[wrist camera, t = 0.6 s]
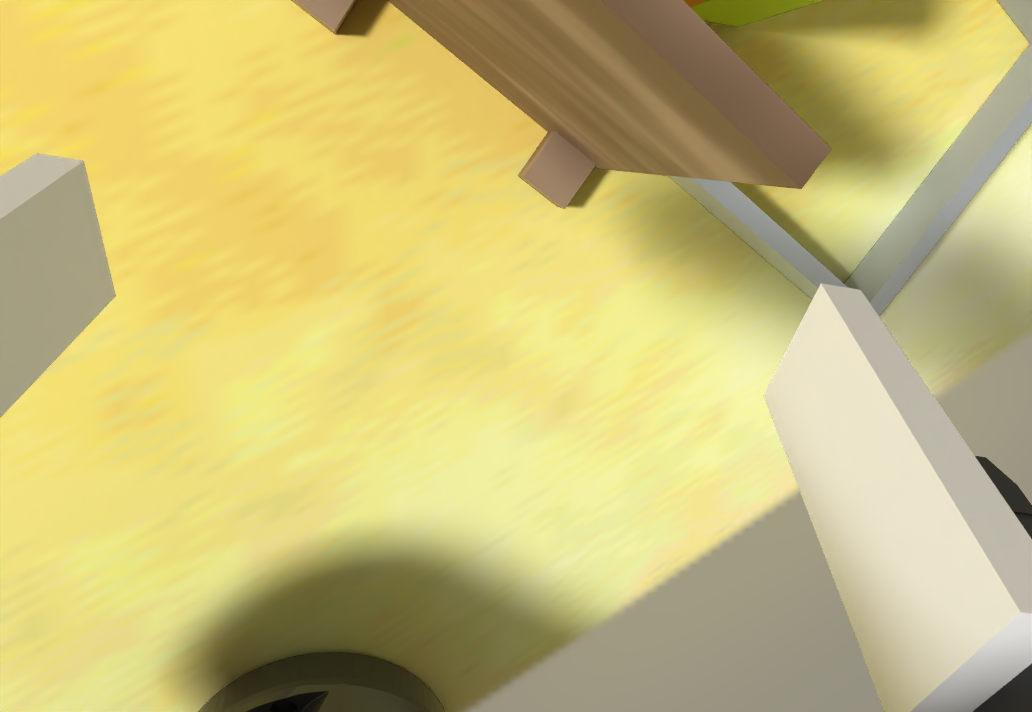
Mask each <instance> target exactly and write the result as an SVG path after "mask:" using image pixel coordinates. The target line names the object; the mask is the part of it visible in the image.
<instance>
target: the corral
mask: <svg viewBox="0 0 1032 712" xmlns="http://www.w3.org/2000/svg"><path fill="white" fill-rule="evenodd" d="M997 1H998V2H999V3H1000V5H1001V6H1002V7H1003V9H1004V10H1005V11H1006V13H1007V14H1008V15H1009V17H1010V18H1011V19H1012V20H1013V22H1014V23H1015V24H1016V26H1017V27H1018V28H1019V30H1020V31H1021V32H1022V33H1023V35H1024V36H1025V37H1026V39H1027V40H1028V41H1029V43H1030V45H1029V46H1028V47H1027V48H1026V50H1025V51H1024V52H1023V54H1022V55H1021V56H1020V58H1019V59H1018V60H1017V61H1016V63H1015V64H1014V65H1013V67H1012V68H1011V69H1010V70H1009V72H1008V73H1007V74H1006V76H1005V77H1004V78H1003V80H1002V81H1001V82H1000V83H999V85H998V86H997V87H996V89H995V90H994V91H993V92H992V94H991V95H990V96H989V98H988V99H987V100H986V101H985V103H984V104H983V105H982V107H981V108H980V109H979V111H978V112H977V113H976V114H975V116H974V117H973V118H972V120H971V121H970V122H969V123H968V125H967V126H966V127H965V129H964V130H963V131H962V133H961V134H960V135H959V136H958V138H957V139H956V140H955V142H954V143H953V144H952V145H951V147H950V148H949V149H948V151H947V152H946V153H945V154H944V156H943V157H942V158H941V160H940V161H939V162H938V164H937V165H936V166H935V167H934V169H933V170H932V171H931V173H930V174H929V175H928V176H927V178H926V179H925V180H924V182H923V183H922V184H921V185H920V187H919V188H918V189H917V191H916V192H915V193H914V195H913V196H912V197H911V198H910V200H909V201H908V202H907V204H906V205H905V206H904V207H903V209H902V210H901V211H900V213H899V214H898V215H897V217H896V218H895V219H894V220H893V222H892V223H891V224H890V226H889V227H888V228H887V229H886V231H885V232H884V233H883V235H882V236H881V237H880V238H879V240H878V241H877V242H876V244H875V245H874V246H873V248H872V249H871V250H870V251H869V253H868V254H867V255H866V257H865V258H864V259H863V260H862V262H861V263H860V264H859V266H858V267H857V268H856V270H855V271H854V272H853V273H852V275H851V276H850V277H849V279H848V280H847V281H846V282H845V284H844V283H843V282H842V281H840V280H839V279H838V278H837V277H836V276H835V275H834V274H833V273H832V272H830V271H829V270H828V269H827V268H826V267H825V266H824V265H823V264H821V263H820V262H819V261H818V260H817V259H816V258H815V257H814V256H813V255H811V254H810V253H809V252H808V251H807V250H806V249H805V248H804V247H803V246H801V245H800V244H799V243H798V242H797V241H796V240H795V239H794V238H793V237H791V236H790V235H789V234H788V233H787V232H786V231H785V230H784V229H782V228H781V227H780V226H779V225H778V224H777V223H776V222H775V221H774V220H772V219H771V218H770V217H769V216H768V215H767V214H766V213H765V212H764V211H762V210H761V209H760V208H759V207H758V206H757V205H756V204H755V203H753V202H752V201H751V200H750V199H749V198H748V197H747V196H746V195H745V194H743V193H742V192H741V191H740V190H739V189H738V188H737V187H736V186H735V185H733V184H732V183H731V182H727V181H717V180H707V179H697V178H687V177H677V176H669V177H670V178H671V179H672V180H674V181H675V182H676V183H677V184H678V185H679V186H681V187H682V188H683V189H684V190H685V191H686V192H688V193H689V194H690V195H691V196H692V197H693V198H694V199H696V200H697V201H698V202H699V203H700V204H701V205H703V206H704V207H705V208H706V209H707V210H708V211H710V212H711V213H712V214H713V215H714V216H715V217H717V218H718V219H719V220H720V221H721V222H722V223H724V224H725V225H726V226H727V227H728V228H729V229H731V230H732V231H733V232H734V233H735V234H736V235H737V236H739V237H740V238H741V239H742V240H743V241H744V242H746V243H747V244H748V245H749V246H750V247H751V248H753V249H754V250H755V251H756V252H757V253H758V254H760V255H761V256H762V257H763V258H764V259H765V260H767V261H768V262H769V263H770V264H771V265H772V266H774V267H775V268H776V269H777V270H778V271H779V272H780V273H782V274H783V275H784V276H785V277H786V278H787V279H789V280H790V281H791V282H792V283H793V284H794V285H796V286H797V287H798V288H799V289H800V290H801V291H803V292H804V293H805V294H806V295H807V296H808V297H810V298H811V299H812V300H813V298H814V296H815V294H816V292H817V290H818V288H819V286H820V284H821V283H822V284H828V285H834V286H840V287H846V288H852V289H858V290H861V291H862V292H863V294H864V295H865V297H866V298H867V300H868V301H869V303H870V304H871V306H872V307H873V309H874V310H875V311H876V313H877V314H878V316H880V315H881V313H882V312H883V311H884V310H885V308H886V307H887V306H888V304H889V303H890V302H891V301H892V299H893V298H894V297H895V296H896V294H897V293H898V292H899V290H900V289H901V288H902V287H903V285H904V284H905V283H906V282H907V280H908V279H909V278H910V276H911V275H912V274H913V273H914V271H915V270H916V269H917V268H918V266H919V265H920V264H921V263H922V261H923V260H924V259H925V257H926V256H927V255H928V254H929V252H930V251H931V250H932V249H933V247H934V246H935V245H936V243H937V242H938V241H939V240H940V238H941V237H942V236H943V235H944V233H945V232H946V231H947V229H948V228H949V227H950V226H951V224H952V223H953V222H954V221H955V219H956V218H957V217H958V215H959V214H960V213H961V212H962V210H963V209H964V208H965V207H966V205H967V204H968V203H969V201H970V200H971V199H972V198H973V196H974V195H975V194H976V193H977V191H978V190H979V189H980V187H981V186H982V185H983V184H984V182H985V181H986V180H987V179H988V177H989V176H990V175H991V173H992V172H993V171H994V170H995V168H996V167H997V166H998V165H999V163H1000V162H1001V161H1002V159H1003V158H1004V157H1005V156H1006V154H1007V153H1008V152H1009V151H1010V149H1011V148H1012V147H1013V145H1014V144H1015V143H1016V142H1017V140H1018V139H1019V138H1020V137H1021V135H1022V134H1023V133H1024V131H1025V130H1026V129H1027V128H1028V126H1029V125H1030V124H1031V123H1032V0H997Z"/></svg>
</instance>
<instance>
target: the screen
mask: <svg viewBox="0 0 1032 712" xmlns="http://www.w3.org/2000/svg"><path fill="white" fill-rule="evenodd" d="M291 1H293V2H294V3H295V4H297V5H298V6H299V7H300V8H302V9H303V10H304V11H306V12H307V13H308V14H310V15H311V16H312V17H313V18H315V19H316V20H317V21H319V22H320V23H321V24H322V25H324V26H325V27H326V28H328V29H329V30H330V31H331V32H333V33H334V34H336V33H337V31H338V30H339V28H340V27H341V25H342V23H343V22H344V20H345V19H346V17H347V16H348V14H349V12H350V11H351V9H352V8H353V6H354V5H355V3H356V1H357V0H291ZM388 1H389V2H390V3H392V4H393V5H394V6H395V7H396V8H398V9H399V10H400V11H401V12H403V13H404V14H405V15H406V16H407V17H409V18H410V19H411V20H412V21H414V22H415V23H416V24H417V25H418V26H420V27H421V28H422V29H423V30H425V31H426V32H427V33H428V34H429V35H431V36H432V37H433V38H434V39H435V40H437V41H438V42H439V43H440V44H442V45H443V46H444V47H445V48H446V49H448V50H449V51H450V52H451V53H453V54H454V55H455V56H456V57H457V58H459V59H460V60H461V61H462V62H464V63H465V64H466V65H467V66H468V67H470V68H471V69H472V70H473V71H474V72H476V73H477V74H478V75H479V76H481V77H482V78H483V79H484V80H485V81H487V82H488V83H489V84H490V85H492V86H493V87H494V88H495V89H496V90H498V91H499V92H500V93H501V94H503V95H504V96H505V97H506V98H507V99H509V100H510V101H511V102H512V103H513V104H515V105H516V106H517V107H518V108H520V109H521V110H522V111H523V112H524V113H526V114H527V115H528V116H529V117H531V118H532V119H533V120H534V121H535V122H537V123H538V124H539V125H540V126H542V127H543V128H544V129H545V130H546V131H548V133H547V134H546V136H545V137H544V139H543V140H542V142H541V143H540V145H539V146H538V147H537V149H536V150H535V152H534V153H533V155H532V156H531V158H530V159H529V160H528V162H527V163H526V165H525V166H524V168H523V169H522V171H521V172H520V173H519V175H518V176H519V177H520V178H521V179H522V180H524V181H525V182H526V183H528V184H529V185H530V186H531V187H533V188H534V189H535V190H537V191H538V192H539V193H540V194H542V195H543V196H544V197H546V198H547V199H548V200H550V201H551V202H552V203H553V204H555V205H556V206H557V207H560V208H564V209H565V208H566V207H567V205H568V204H569V202H570V201H571V199H572V198H573V197H574V195H575V194H576V192H577V191H578V190H579V188H580V187H581V185H582V184H583V182H584V181H585V180H586V178H587V177H588V175H589V174H590V173H591V171H592V170H593V168H597V169H607V170H617V171H627V172H637V173H647V174H657V175H667V176H677V177H687V178H697V179H707V180H717V181H727V182H737V183H747V184H757V185H767V186H777V187H787V188H797V189H802V188H803V186H804V185H805V184H806V182H807V181H808V180H809V178H810V177H811V176H812V174H813V173H814V172H815V170H816V169H817V168H818V166H819V165H820V164H821V162H822V161H823V160H824V158H825V157H826V156H827V154H828V153H829V152H830V150H831V148H830V147H829V146H828V145H827V144H826V143H825V142H824V141H823V140H822V139H821V138H820V137H819V136H818V135H817V134H816V133H815V132H814V131H813V130H812V129H811V128H810V127H809V126H808V125H807V124H806V123H805V122H804V121H803V120H802V119H801V118H800V117H799V116H798V115H797V114H796V113H795V112H794V111H793V110H792V109H791V108H790V107H789V106H788V105H787V104H786V103H785V102H784V101H783V100H782V99H781V98H780V97H779V96H778V95H777V94H776V93H775V92H774V91H773V90H772V89H771V88H770V87H769V86H768V85H767V84H766V83H765V82H764V81H763V80H762V79H761V78H760V77H759V76H758V75H757V74H756V73H755V72H754V71H753V70H752V69H751V68H750V67H749V66H748V65H747V64H746V63H745V62H744V61H743V60H742V59H741V58H740V57H739V56H738V55H737V54H736V53H735V52H734V51H733V50H732V49H731V48H730V47H729V46H728V45H727V44H726V43H725V42H724V41H723V40H722V39H721V38H720V37H719V36H718V35H717V34H716V33H715V32H714V31H713V30H712V29H711V28H710V27H709V26H708V25H707V24H706V23H705V22H704V21H703V20H702V19H701V18H700V17H699V16H698V15H697V14H696V13H695V12H694V11H693V10H692V9H691V8H690V7H689V6H688V5H687V4H686V3H685V2H684V1H683V0H388Z"/></svg>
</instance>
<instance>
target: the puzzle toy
mask: <svg viewBox="0 0 1032 712" xmlns="http://www.w3.org/2000/svg"><path fill="white" fill-rule="evenodd" d="M683 1H684V2H685V3H686V4H687V5H688V6H689V7H690V8H691V9H692V10H693V11H694V12H695V13H696V14H697V15H698V16H699V17H700V18H701V19H702V20H703V21H709V22H715V23H720V24H726V25H732V26H737V27H738V26H742V25H745V24H748V23H751V22H755V21H758V20H761V19H764V18H768V17H771V16H774V15H778V14H781V13H784V12H787V11H791V10H794V9H797V8H800V7H804V6H807V5H810V4H814V3H817V2H820V1H823V0H683Z"/></svg>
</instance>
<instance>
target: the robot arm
mask: <svg viewBox="0 0 1032 712" xmlns="http://www.w3.org/2000/svg"><path fill="white" fill-rule="evenodd" d="M115 296H116V295H115V291H114V286H113V282H112V278H111V274H110V269H109V265H108V261H107V257H106V253H105V248H104V244H103V240H102V236H101V231H100V227H99V223H98V219H97V214H96V210H95V206H94V202H93V198H92V193H91V189H90V185H89V181H88V176H87V172H86V168H85V164H84V161H81V160H75V159H69V158H63V157H57V156H51V155H45V154H39V153H37V154H35V155H34V156H32V157H30V158H29V159H27V160H26V161H24V162H22V163H21V164H19V165H17V166H16V167H14V168H13V169H11V170H9V171H8V172H6V173H4V174H3V175H1V176H0V418H1V417H2V416H3V414H4V413H5V412H6V411H7V410H8V409H9V408H10V407H11V406H12V405H13V404H14V403H15V402H16V401H17V400H18V399H19V398H20V397H21V395H22V394H23V393H24V392H25V391H26V390H27V389H28V388H29V387H30V386H31V385H32V384H33V383H34V382H35V381H36V380H37V379H38V377H39V376H40V375H41V374H42V373H43V372H44V371H45V370H46V369H47V368H48V367H49V366H50V365H51V364H52V363H53V362H54V361H55V360H56V358H57V357H58V356H59V355H60V354H61V353H62V352H63V351H64V350H65V349H66V348H67V347H68V346H69V345H70V344H71V343H72V342H73V341H74V339H75V338H76V337H77V336H78V335H79V334H80V333H81V332H82V331H83V330H84V329H85V328H86V327H87V326H88V325H89V324H90V323H91V321H92V320H93V319H94V318H95V317H96V316H97V315H98V314H99V313H100V312H101V311H102V310H103V309H104V308H105V307H106V306H107V305H108V304H109V302H110V301H111V300H112V299H113V298H114V297H115ZM763 396H764V398H765V401H766V403H767V406H768V409H769V411H770V414H771V416H772V419H773V422H774V424H775V427H776V430H777V432H778V435H779V437H780V440H781V443H782V445H783V448H784V450H785V453H786V456H787V458H788V461H789V464H790V466H791V469H792V471H793V474H794V477H795V479H796V482H797V484H798V487H799V490H800V492H801V495H802V497H803V500H804V503H805V505H806V508H807V511H808V513H809V516H810V518H811V521H812V524H813V526H814V529H815V532H816V534H817V536H818V539H819V542H820V544H821V547H822V550H823V552H824V555H825V557H826V560H827V563H828V566H829V568H830V571H831V573H832V576H833V579H834V581H835V584H836V586H837V589H838V592H839V594H840V597H841V599H842V602H843V605H844V607H845V610H846V612H847V615H848V618H849V620H850V623H851V626H852V628H853V631H854V634H855V636H856V639H857V641H858V644H859V647H860V649H861V652H862V654H863V657H864V660H865V662H866V665H867V668H868V670H869V673H870V675H871V678H872V681H873V683H874V686H875V688H876V691H877V694H878V696H879V699H880V702H881V704H882V707H883V709H884V712H1032V505H1031V504H1030V502H1029V501H1028V500H1027V498H1026V497H1025V495H1024V494H1023V493H1022V491H1021V490H1020V488H1019V487H1018V486H1017V485H1016V484H1015V483H1014V482H1013V481H1012V480H1011V479H1010V478H1008V477H1007V476H1006V475H1005V474H1004V473H1003V472H1002V471H1001V470H999V469H998V468H997V467H996V466H995V465H994V464H992V463H991V462H990V461H989V460H988V459H987V458H985V457H979V456H974V454H973V453H972V451H971V450H970V449H969V447H968V446H967V444H966V443H965V441H964V440H963V438H962V437H961V435H960V434H959V432H958V431H957V430H956V428H955V427H954V425H953V424H952V422H951V421H950V420H949V418H948V416H947V415H946V413H945V412H944V411H943V409H942V408H941V406H940V405H939V403H938V402H937V400H936V399H935V397H934V396H933V395H932V393H931V392H930V390H929V389H928V387H927V386H926V384H925V383H924V381H923V380H922V378H921V377H920V376H919V374H918V373H917V371H916V370H915V368H914V367H913V365H912V364H911V362H910V361H909V360H908V358H907V357H906V355H905V354H904V352H903V351H902V349H901V348H900V346H899V345H898V344H897V342H896V341H895V339H894V338H893V336H892V335H891V333H890V332H889V330H888V329H887V327H886V326H885V325H884V323H883V322H882V320H881V319H880V317H879V316H878V314H877V313H876V311H875V310H874V309H873V307H872V306H871V304H870V303H869V301H868V300H867V298H866V297H865V295H864V294H863V292H862V291H861V290H858V289H852V288H846V287H840V286H834V285H828V284H822V283H821V284H820V286H819V288H818V290H817V292H816V294H815V296H814V298H813V300H812V302H811V304H810V305H809V307H808V309H807V311H806V313H805V315H804V317H803V319H802V321H801V323H800V325H799V327H798V329H797V331H796V333H795V335H794V337H793V339H792V341H791V342H790V344H789V346H788V348H787V350H786V352H785V354H784V356H783V358H782V360H781V362H780V364H779V366H778V368H777V370H776V372H775V374H774V376H773V378H772V380H771V381H770V383H769V385H768V387H767V389H766V391H765V393H764V395H763ZM198 712H445V711H444V709H443V707H442V705H441V704H440V702H439V700H438V699H437V697H436V696H435V695H434V693H433V692H432V691H431V690H430V689H429V688H428V687H427V686H426V685H425V684H424V683H423V682H422V681H421V680H419V679H418V678H417V677H415V676H414V675H412V674H411V673H409V672H408V671H406V670H404V669H402V668H400V667H398V666H396V665H394V664H392V663H389V662H386V661H384V660H380V659H377V658H373V657H369V656H364V655H357V654H348V653H319V654H309V655H303V656H297V657H293V658H288V659H285V660H281V661H278V662H275V663H272V664H269V665H266V666H264V667H261V668H259V669H256V670H254V671H252V672H250V673H248V674H246V675H244V676H242V677H241V678H239V679H237V680H235V681H234V682H232V683H231V684H229V685H228V686H226V687H225V688H224V689H222V690H221V691H220V692H218V693H217V694H216V695H215V696H213V697H212V698H211V699H210V700H209V701H208V702H207V703H206V704H205V705H204V706H203V707H202V708H201V709H200V710H199V711H198Z"/></svg>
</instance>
